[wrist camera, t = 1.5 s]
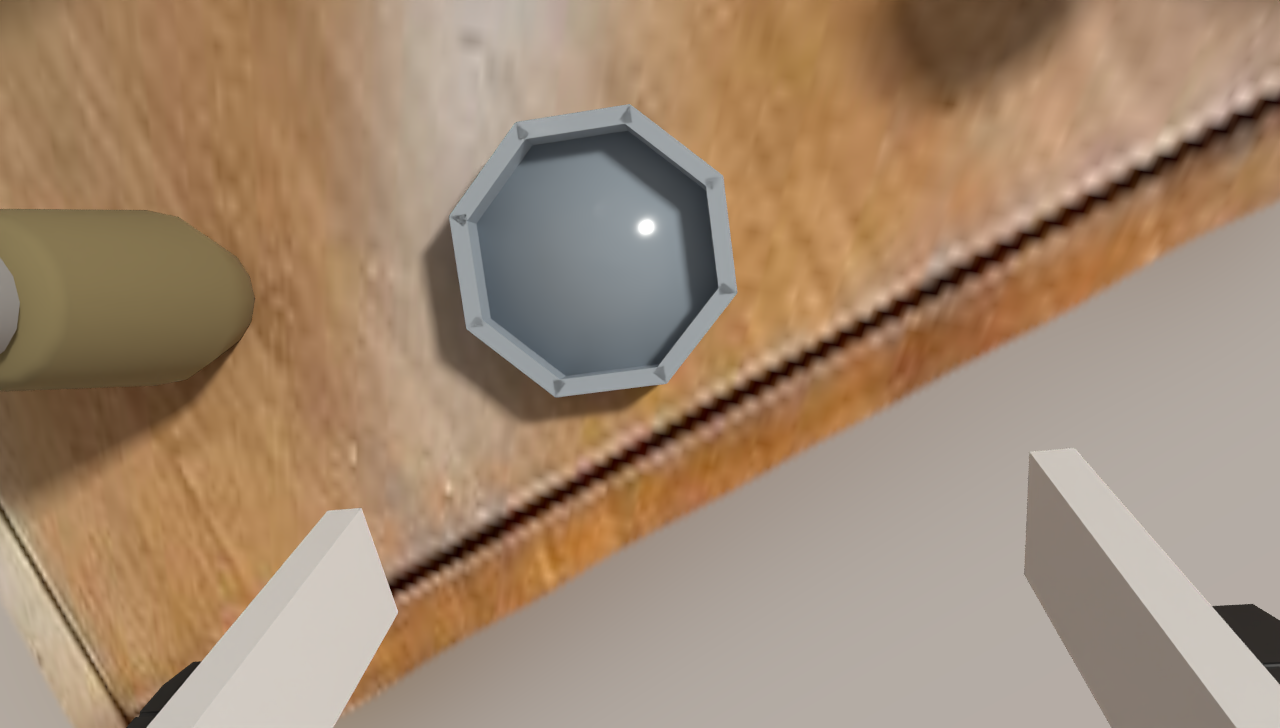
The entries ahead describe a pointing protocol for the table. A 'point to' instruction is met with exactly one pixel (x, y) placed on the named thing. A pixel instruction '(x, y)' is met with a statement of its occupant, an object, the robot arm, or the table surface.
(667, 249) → the octagonal tray
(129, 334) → the squeeze bottle
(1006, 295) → the table surface
